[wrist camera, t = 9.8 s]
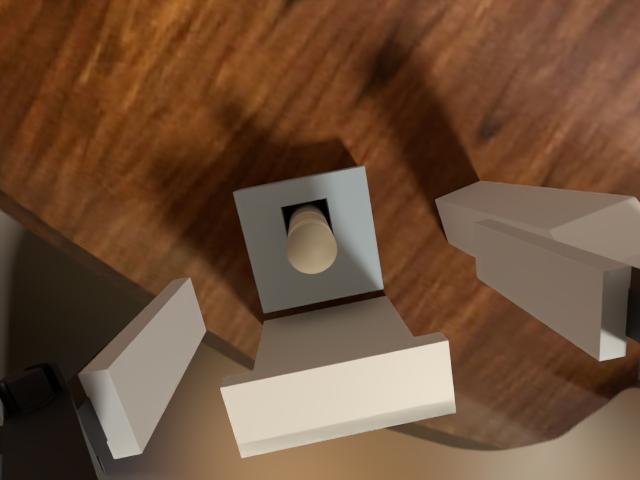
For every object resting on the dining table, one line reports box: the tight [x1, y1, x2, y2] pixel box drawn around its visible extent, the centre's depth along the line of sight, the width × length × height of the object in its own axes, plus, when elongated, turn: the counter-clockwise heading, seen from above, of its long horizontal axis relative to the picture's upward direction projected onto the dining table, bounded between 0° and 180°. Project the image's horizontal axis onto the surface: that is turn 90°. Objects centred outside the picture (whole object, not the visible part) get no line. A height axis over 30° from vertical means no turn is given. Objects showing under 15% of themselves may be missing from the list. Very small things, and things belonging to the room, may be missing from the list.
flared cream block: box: [220, 296, 456, 458], centre depth 33 cm, size 6×16×19 cm, turn 101°
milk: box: [435, 181, 640, 269], centre depth 30 cm, size 6×6×22 cm
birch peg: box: [286, 203, 337, 274], centre depth 33 cm, size 4×4×14 cm
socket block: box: [233, 166, 384, 313], centre depth 38 cm, size 14×14×4 cm
